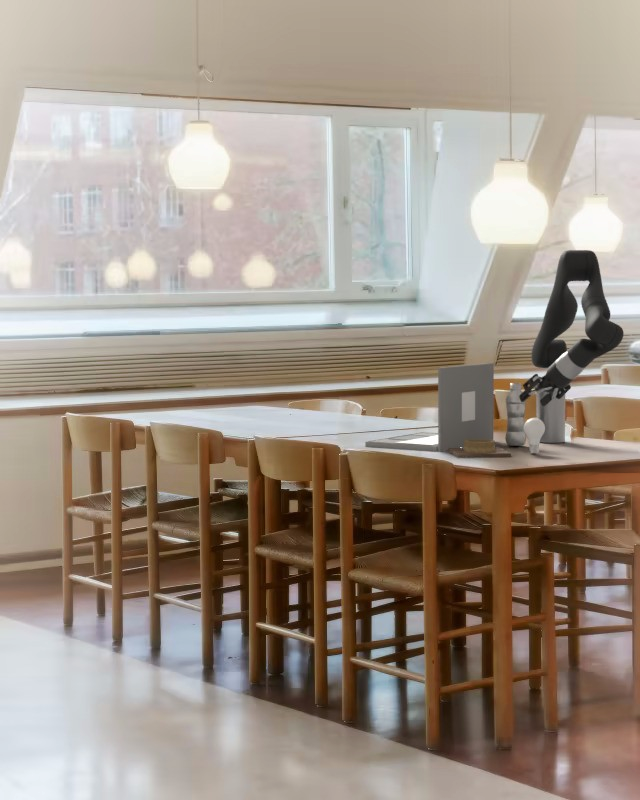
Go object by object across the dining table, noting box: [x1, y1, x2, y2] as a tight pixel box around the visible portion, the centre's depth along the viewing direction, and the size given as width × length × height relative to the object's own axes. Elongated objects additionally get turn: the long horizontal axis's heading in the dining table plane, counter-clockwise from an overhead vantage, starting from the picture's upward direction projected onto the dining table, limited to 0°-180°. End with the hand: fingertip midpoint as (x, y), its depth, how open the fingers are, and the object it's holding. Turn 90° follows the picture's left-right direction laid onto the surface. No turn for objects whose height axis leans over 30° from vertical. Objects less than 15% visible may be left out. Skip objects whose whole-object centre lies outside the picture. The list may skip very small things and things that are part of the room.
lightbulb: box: [523, 417, 545, 455], centre depth 389 cm, size 6×6×11 cm
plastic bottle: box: [505, 382, 527, 447], centre depth 410 cm, size 6×7×20 cm
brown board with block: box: [448, 439, 512, 458], centre depth 391 cm, size 16×16×4 cm
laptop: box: [364, 362, 495, 453], centre depth 419 cm, size 35×28×26 cm
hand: (531, 401), depth 384 cm, fingers open, 8 cm apart
